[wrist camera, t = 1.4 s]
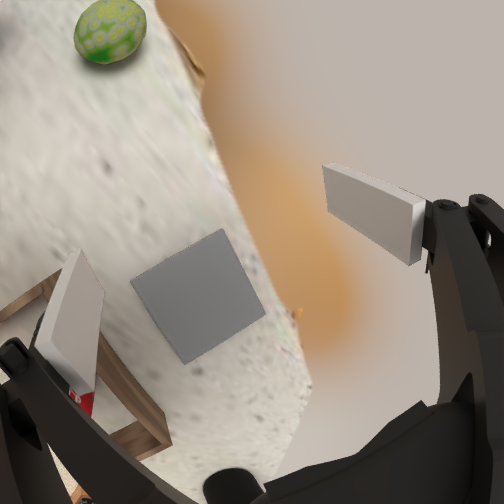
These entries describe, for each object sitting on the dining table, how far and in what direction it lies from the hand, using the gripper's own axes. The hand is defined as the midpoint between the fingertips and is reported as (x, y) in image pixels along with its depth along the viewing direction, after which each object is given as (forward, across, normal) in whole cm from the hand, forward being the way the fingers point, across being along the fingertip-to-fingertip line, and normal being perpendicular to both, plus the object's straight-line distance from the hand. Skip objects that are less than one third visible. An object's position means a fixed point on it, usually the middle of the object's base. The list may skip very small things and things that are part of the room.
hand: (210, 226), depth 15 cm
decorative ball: (+32, -4, +18) cm, 37 cm away
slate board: (+20, -3, -18) cm, 27 cm away
